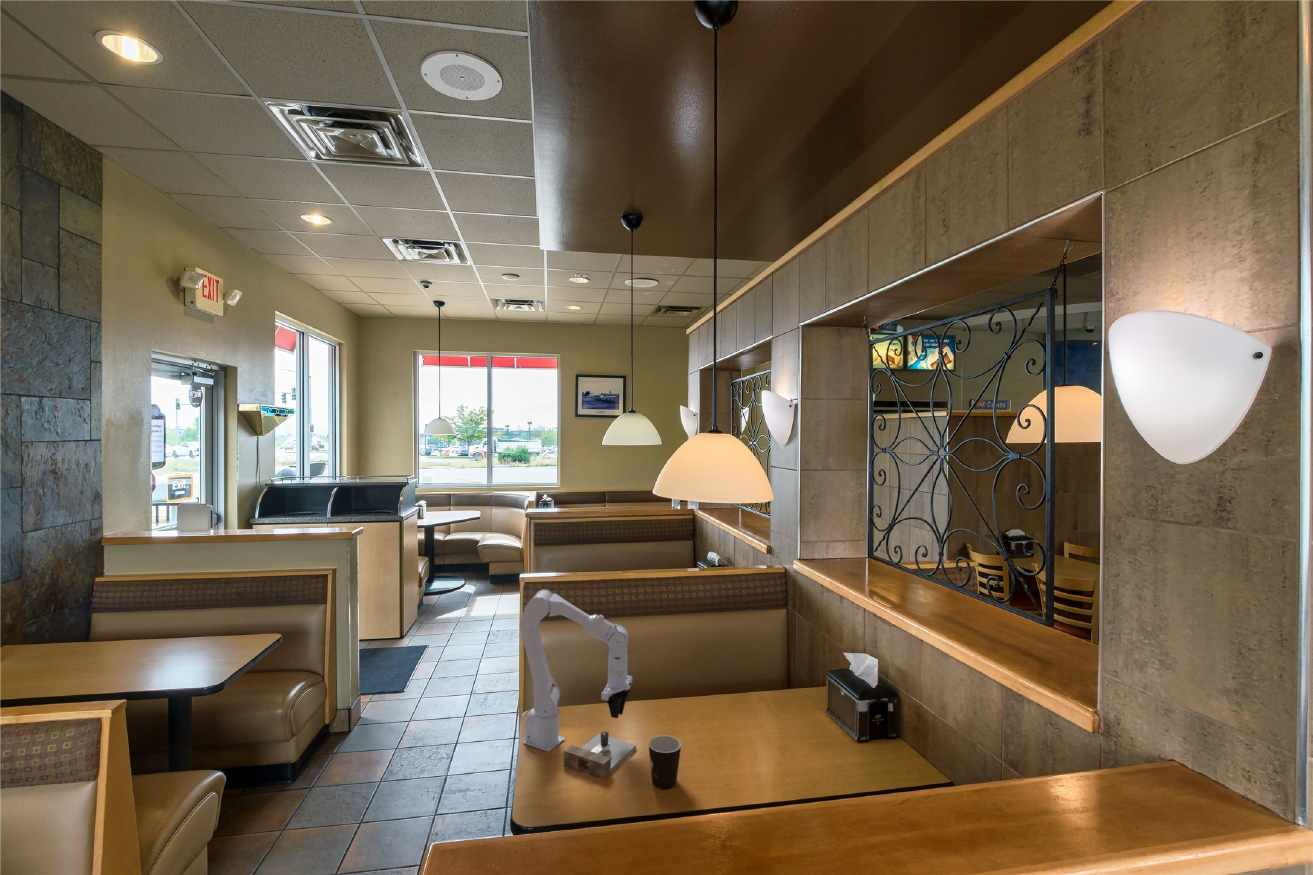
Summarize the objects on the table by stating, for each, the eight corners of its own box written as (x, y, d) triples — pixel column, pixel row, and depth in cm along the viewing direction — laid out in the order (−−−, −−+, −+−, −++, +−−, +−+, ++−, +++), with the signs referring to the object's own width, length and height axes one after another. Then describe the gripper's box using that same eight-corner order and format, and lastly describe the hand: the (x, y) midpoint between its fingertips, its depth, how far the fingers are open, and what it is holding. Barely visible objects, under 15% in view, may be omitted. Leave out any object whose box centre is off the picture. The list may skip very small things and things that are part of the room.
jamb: (563, 766, 153) (563, 750, 153) (571, 760, 156) (571, 744, 156) (603, 779, 147) (603, 763, 147) (610, 773, 150) (610, 757, 150)
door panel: (571, 760, 156) (571, 748, 156) (598, 737, 169) (598, 726, 169) (610, 773, 150) (610, 761, 150) (636, 748, 163) (636, 737, 163)
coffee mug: (677, 794, 142) (678, 754, 142) (644, 789, 143) (645, 750, 143) (684, 768, 153) (685, 731, 153) (653, 764, 155) (654, 728, 155)
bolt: (588, 758, 155) (589, 742, 155) (602, 746, 161) (603, 730, 161) (596, 760, 153) (596, 744, 154) (609, 748, 160) (610, 732, 160)
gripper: (616, 680, 157) (615, 729, 157) (641, 663, 170) (640, 708, 170) (595, 675, 161) (594, 723, 160) (621, 659, 173) (620, 703, 173)
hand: (616, 715), depth 165 cm, fingers closed
